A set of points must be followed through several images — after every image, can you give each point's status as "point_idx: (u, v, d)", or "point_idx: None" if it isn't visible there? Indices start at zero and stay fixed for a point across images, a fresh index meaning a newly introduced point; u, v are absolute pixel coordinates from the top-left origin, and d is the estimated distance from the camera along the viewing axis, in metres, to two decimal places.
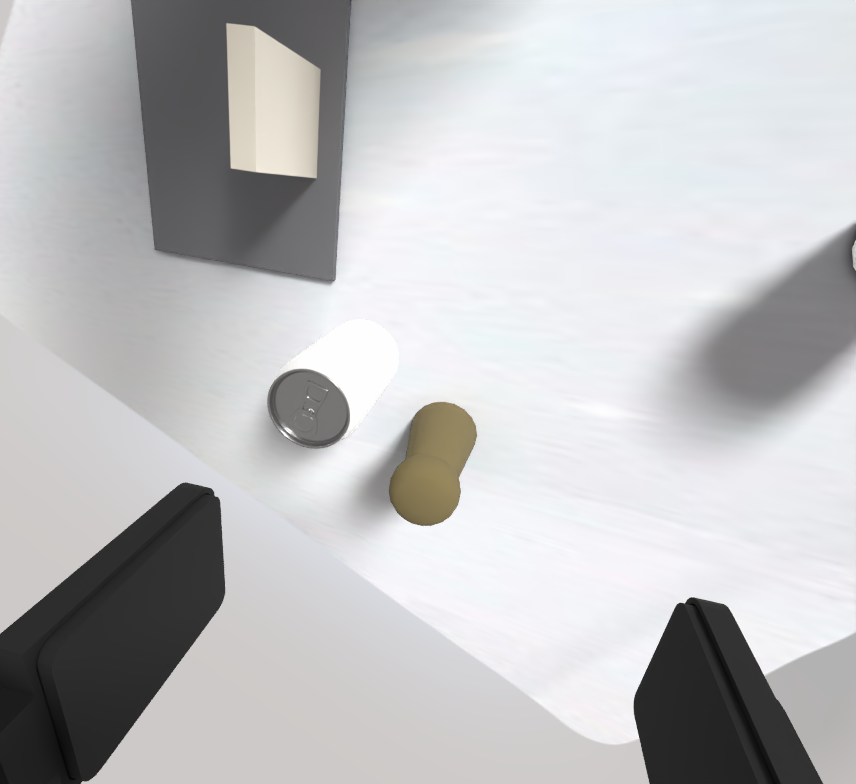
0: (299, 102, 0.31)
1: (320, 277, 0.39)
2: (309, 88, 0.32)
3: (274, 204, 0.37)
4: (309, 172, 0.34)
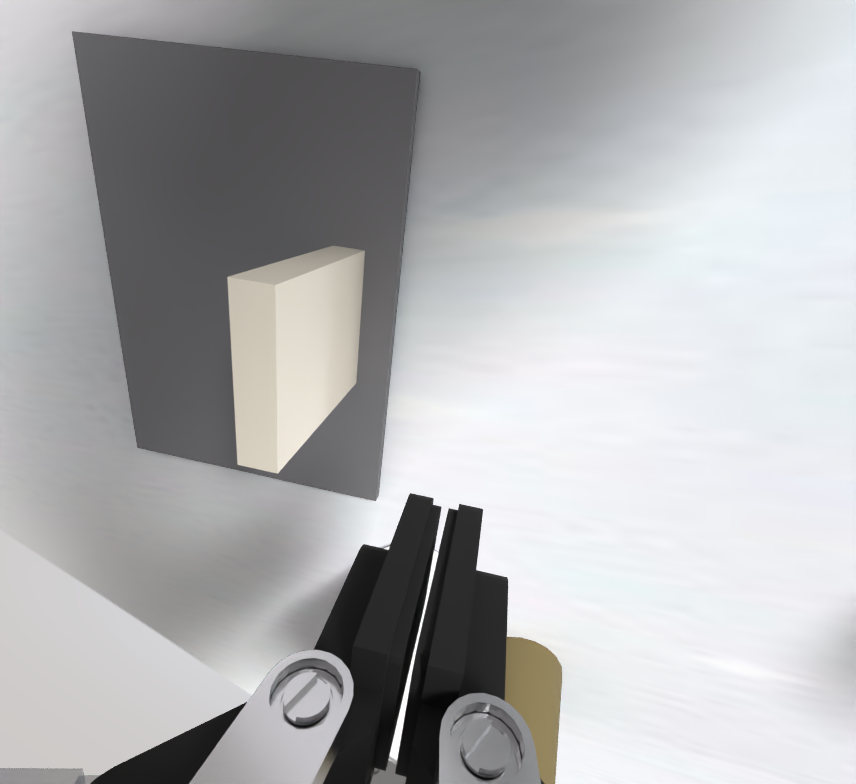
0: (338, 317, 0.21)
1: (359, 495, 0.28)
2: (350, 288, 0.22)
3: None
4: (347, 387, 0.24)
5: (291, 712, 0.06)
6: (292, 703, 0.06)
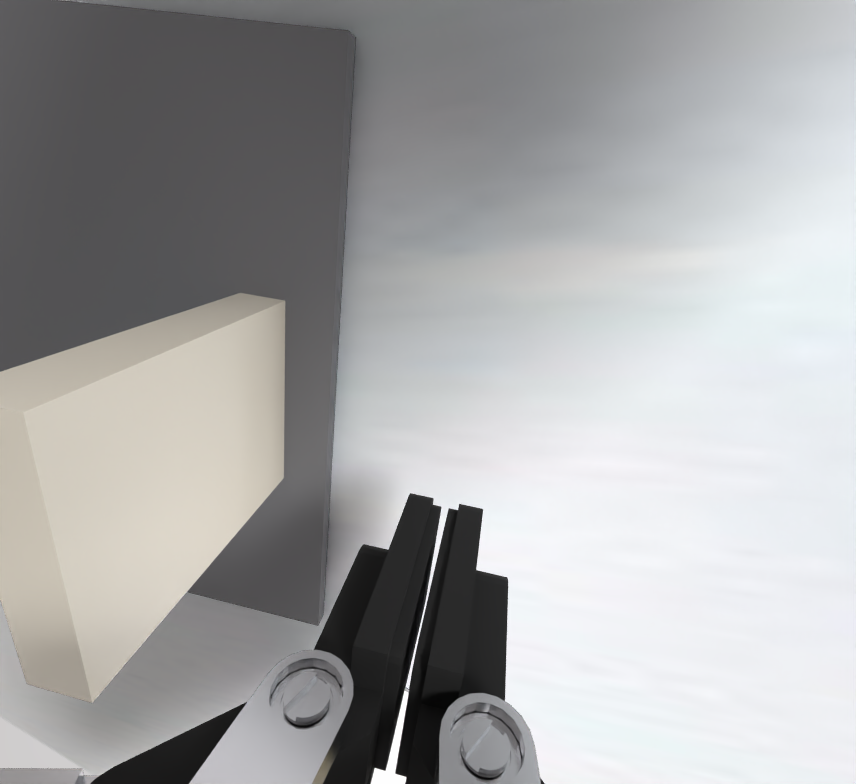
0: (233, 408, 0.14)
1: (296, 618, 0.21)
2: (258, 359, 0.14)
3: None
4: (265, 491, 0.17)
5: (291, 712, 0.06)
6: (292, 703, 0.06)
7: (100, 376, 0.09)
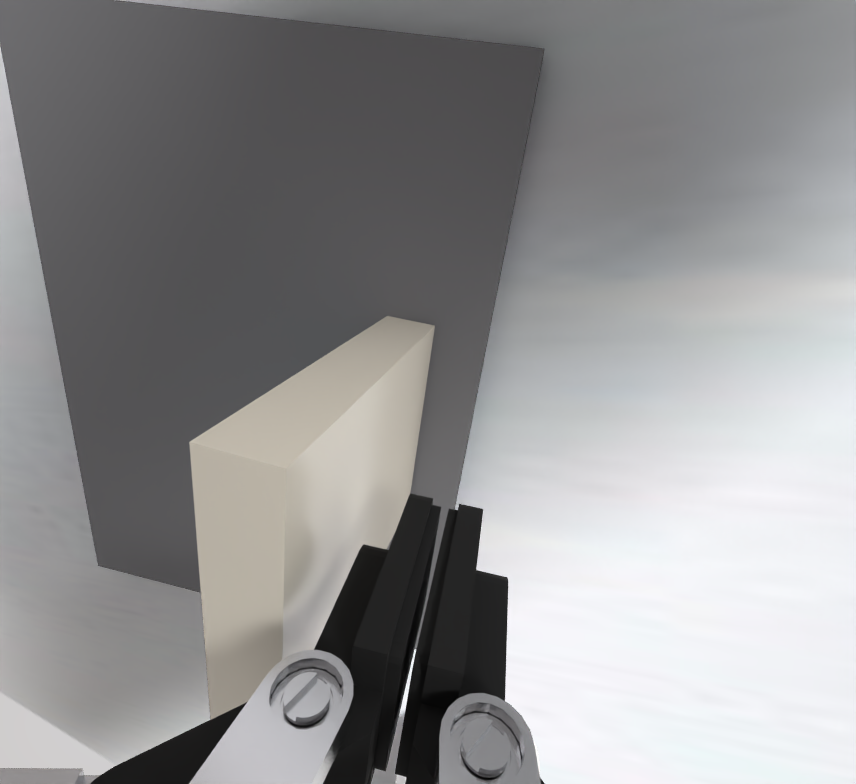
0: (394, 440, 0.13)
1: None
2: (413, 387, 0.14)
3: None
4: (397, 521, 0.16)
5: (291, 712, 0.06)
6: (292, 703, 0.06)
7: (328, 421, 0.08)
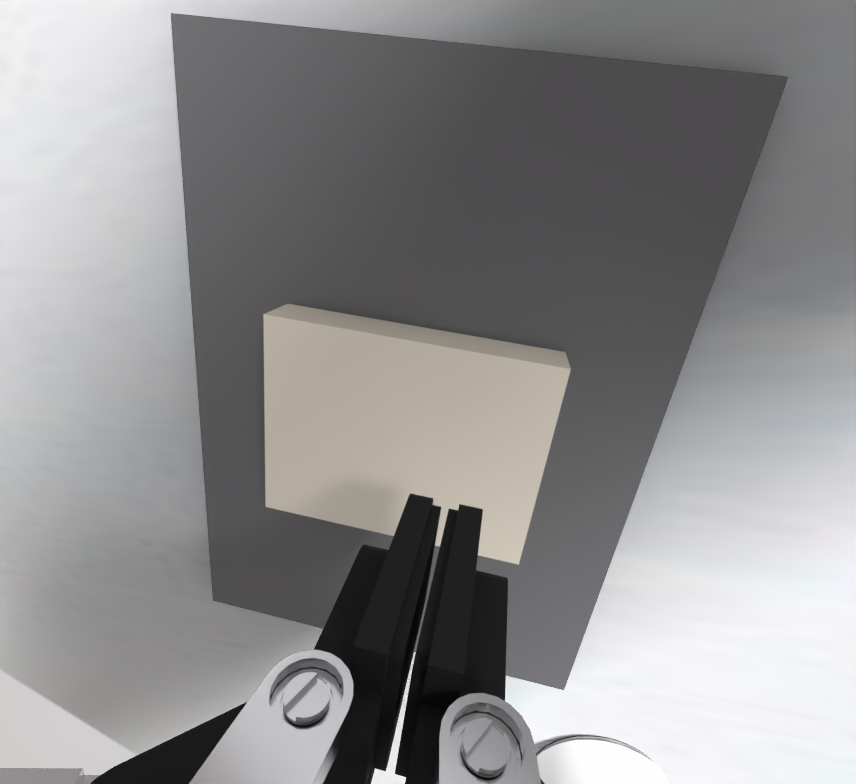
0: (442, 427, 0.14)
1: (539, 682, 0.20)
2: (495, 405, 0.14)
3: None
4: None
5: (291, 713, 0.06)
6: (292, 703, 0.06)
7: (315, 322, 0.14)
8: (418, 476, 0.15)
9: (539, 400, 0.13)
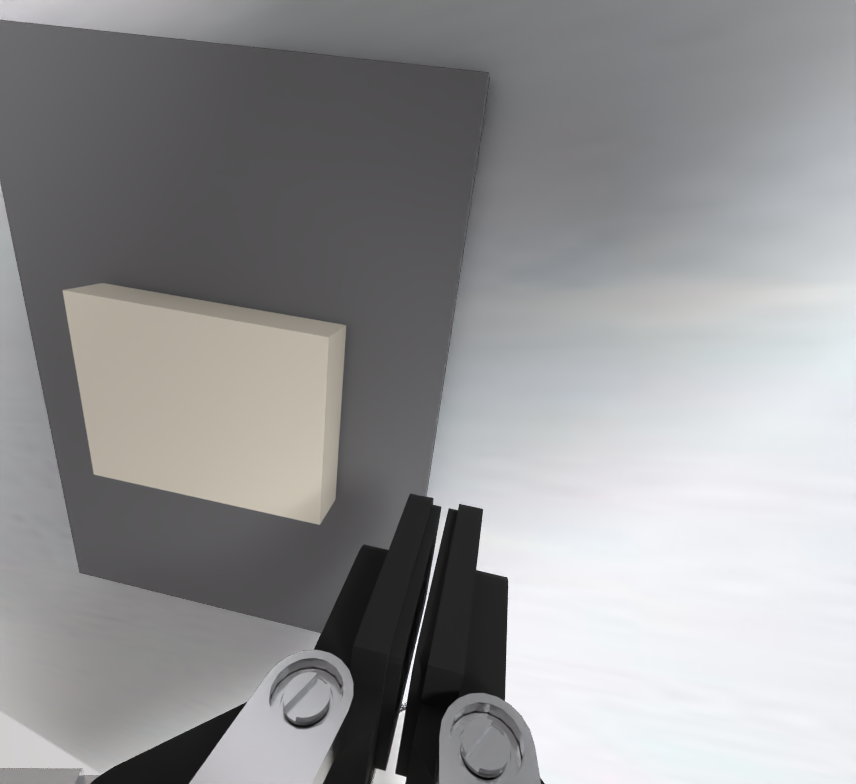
0: (231, 394, 0.15)
1: None
2: (272, 372, 0.15)
3: (295, 535, 0.19)
4: (282, 509, 0.17)
5: (291, 712, 0.06)
6: (292, 703, 0.06)
7: (109, 297, 0.15)
8: (219, 441, 0.16)
9: (308, 367, 0.15)
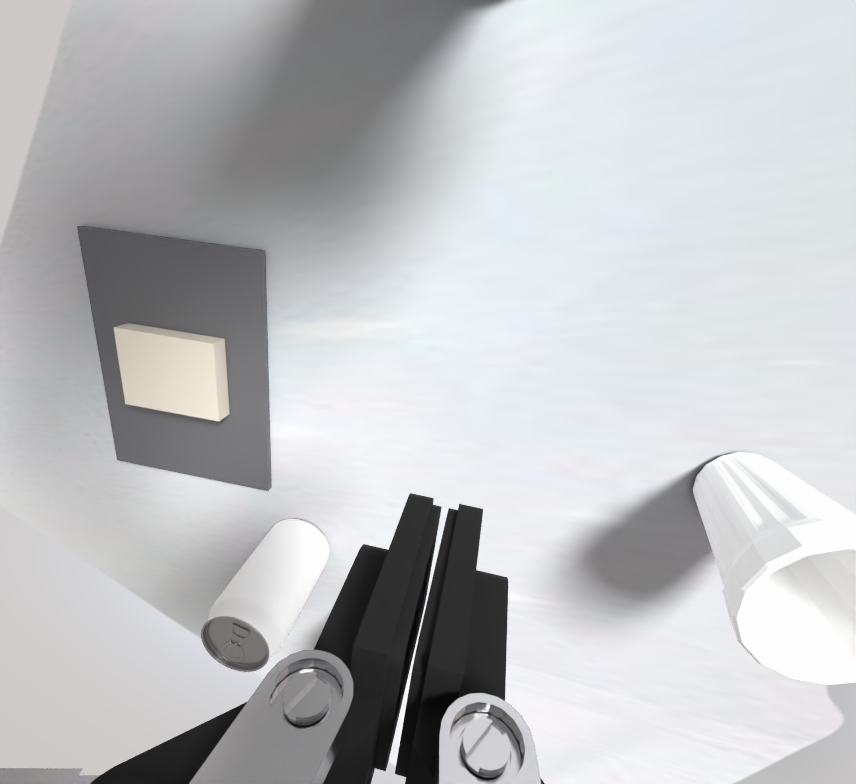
0: (179, 366, 0.39)
1: (257, 487, 0.45)
2: (194, 357, 0.39)
3: (215, 433, 0.43)
4: (203, 415, 0.41)
5: (291, 712, 0.06)
6: (292, 703, 0.06)
7: (131, 329, 0.39)
8: (176, 386, 0.40)
9: (207, 355, 0.38)
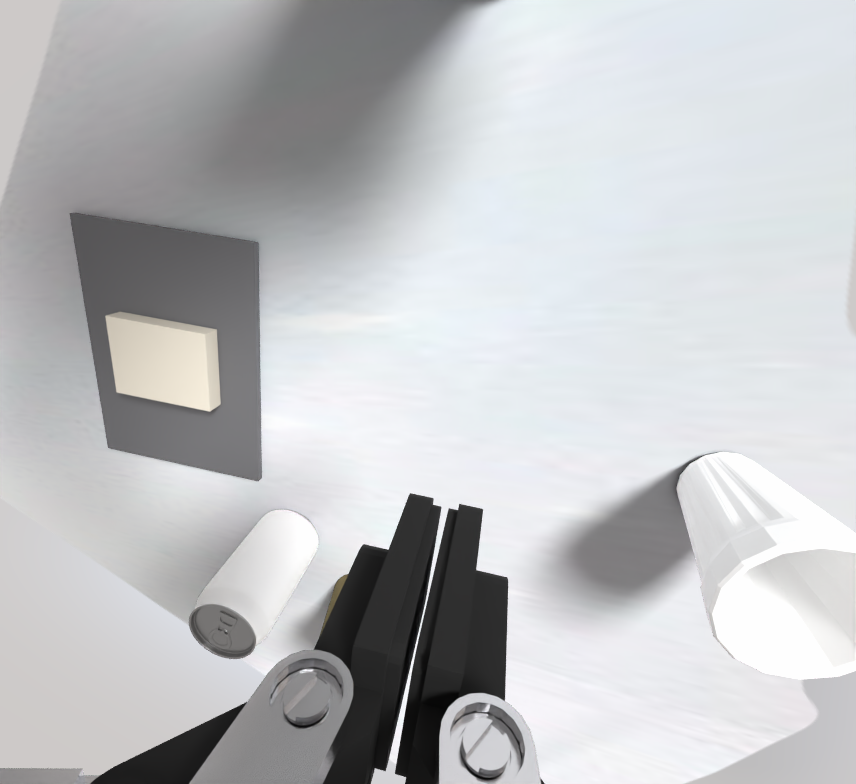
0: (171, 356, 0.39)
1: (248, 477, 0.45)
2: (186, 347, 0.39)
3: (206, 423, 0.43)
4: (194, 405, 0.41)
5: (291, 712, 0.06)
6: (292, 703, 0.06)
7: (123, 318, 0.39)
8: (167, 376, 0.40)
9: (199, 345, 0.38)
